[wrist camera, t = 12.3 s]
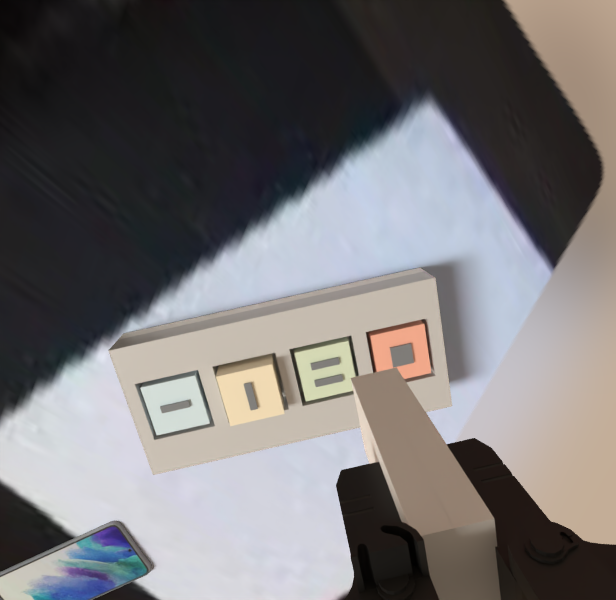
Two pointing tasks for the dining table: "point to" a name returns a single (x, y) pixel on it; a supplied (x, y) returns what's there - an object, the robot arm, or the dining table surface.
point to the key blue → (176, 402)
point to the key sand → (250, 389)
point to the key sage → (325, 368)
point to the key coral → (400, 349)
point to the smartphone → (78, 568)
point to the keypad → (277, 363)
